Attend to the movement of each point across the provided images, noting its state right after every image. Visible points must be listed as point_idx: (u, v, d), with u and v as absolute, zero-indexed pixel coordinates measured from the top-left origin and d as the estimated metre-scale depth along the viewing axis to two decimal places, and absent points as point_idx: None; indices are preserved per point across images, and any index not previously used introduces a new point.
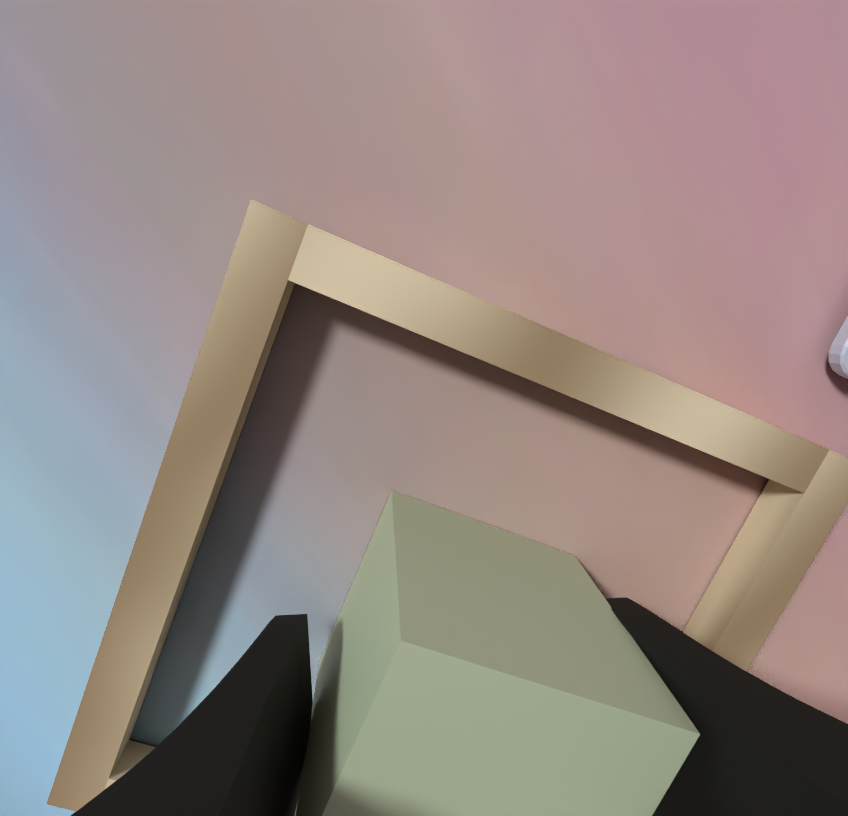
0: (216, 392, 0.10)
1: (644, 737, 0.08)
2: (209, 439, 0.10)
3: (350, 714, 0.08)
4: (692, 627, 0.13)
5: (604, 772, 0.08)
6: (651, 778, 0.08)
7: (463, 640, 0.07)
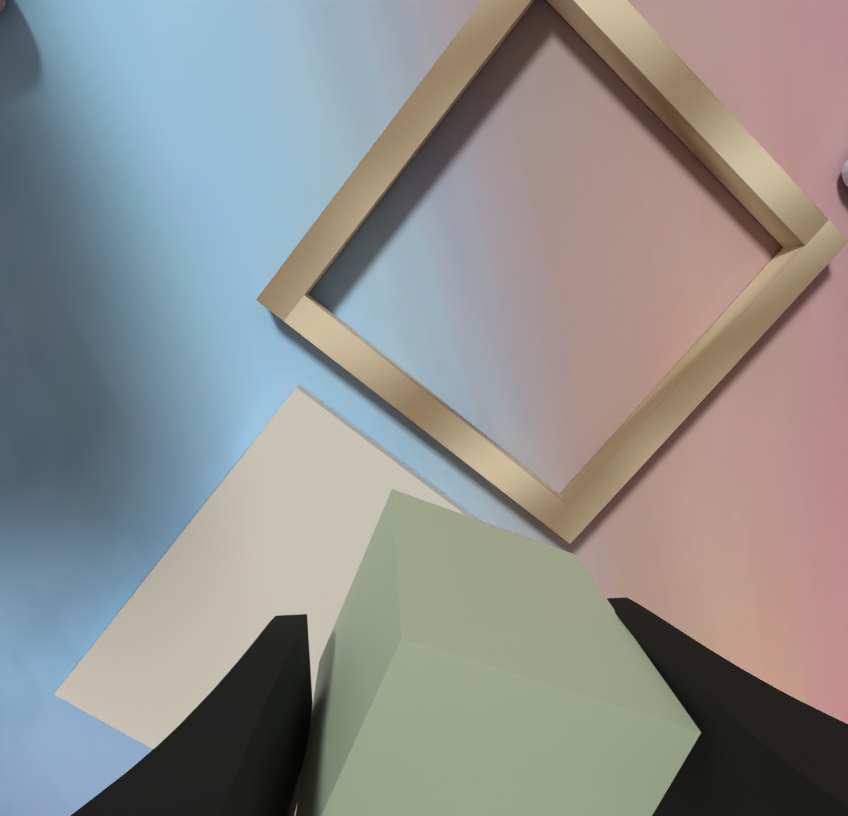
0: (480, 35, 0.15)
1: (644, 735, 0.08)
2: (463, 66, 0.15)
3: (350, 713, 0.08)
4: (702, 339, 0.19)
5: (605, 771, 0.08)
6: (652, 777, 0.08)
7: (463, 637, 0.07)
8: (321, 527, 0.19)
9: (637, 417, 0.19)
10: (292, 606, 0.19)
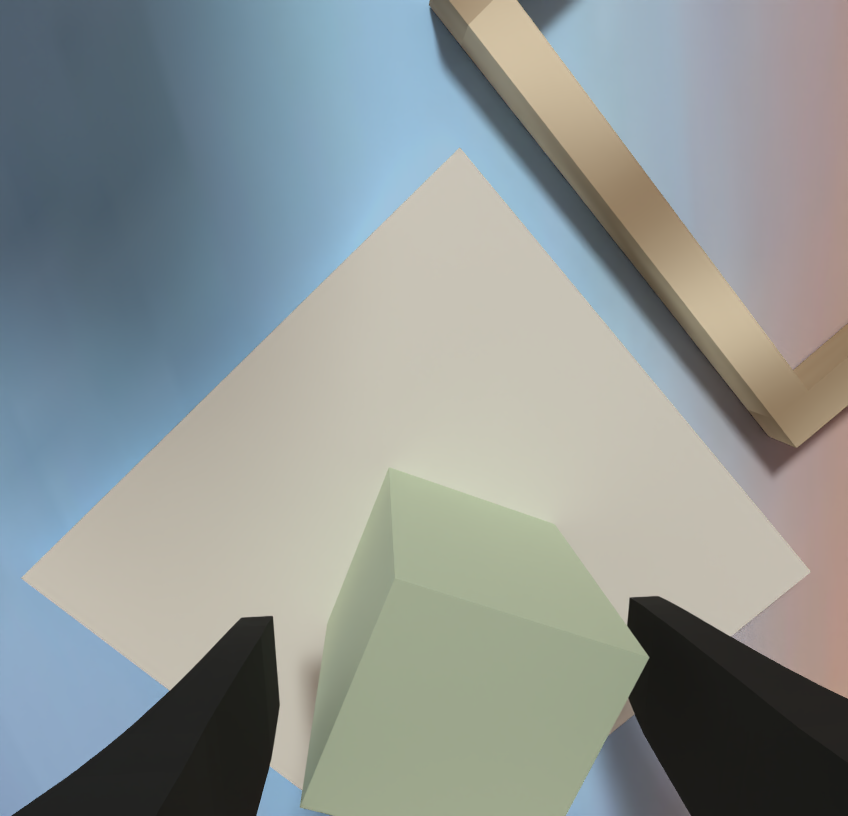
0: None
1: (602, 660, 0.09)
2: None
3: (354, 648, 0.09)
4: None
5: (569, 691, 0.09)
6: (609, 696, 0.09)
7: (447, 580, 0.09)
8: (454, 374, 0.13)
9: None
10: None
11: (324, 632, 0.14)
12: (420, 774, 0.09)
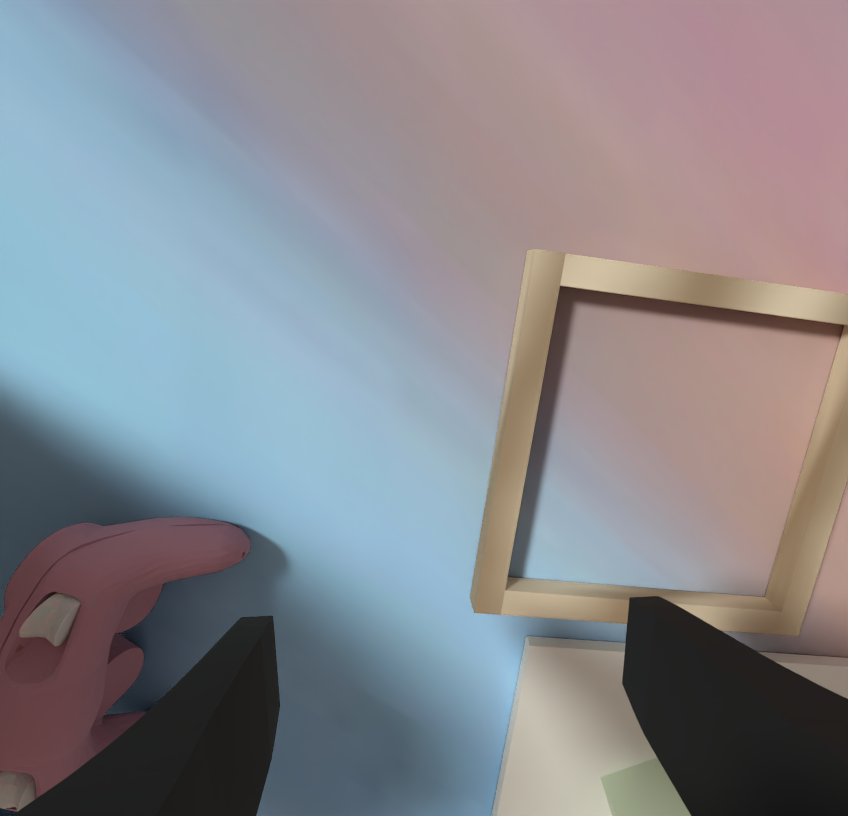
0: (532, 355, 0.18)
1: None
2: (532, 381, 0.19)
3: None
4: (817, 429, 0.21)
5: None
6: None
7: None
8: (599, 722, 0.23)
9: (797, 516, 0.21)
10: None
11: None
12: None
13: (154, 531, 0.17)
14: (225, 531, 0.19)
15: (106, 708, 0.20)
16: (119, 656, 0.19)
